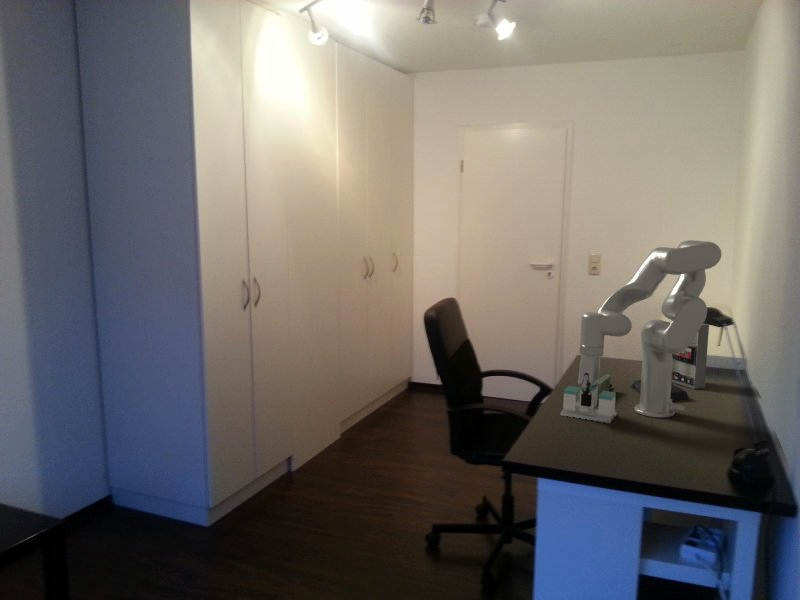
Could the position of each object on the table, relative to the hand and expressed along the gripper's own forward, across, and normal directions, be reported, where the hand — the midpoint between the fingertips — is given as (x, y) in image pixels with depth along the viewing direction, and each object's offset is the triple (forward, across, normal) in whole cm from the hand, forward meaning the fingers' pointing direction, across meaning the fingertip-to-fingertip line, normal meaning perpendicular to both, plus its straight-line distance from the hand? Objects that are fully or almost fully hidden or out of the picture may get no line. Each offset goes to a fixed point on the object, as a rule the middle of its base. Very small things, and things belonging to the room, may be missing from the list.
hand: (588, 402), depth 213 cm
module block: (+1, 0, 0) cm, 1 cm away
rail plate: (+4, 0, 0) cm, 4 cm away
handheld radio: (+5, -27, -1) cm, 27 cm away
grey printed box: (+4, -60, +24) cm, 65 cm away
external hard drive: (+5, -40, +17) cm, 44 cm away
